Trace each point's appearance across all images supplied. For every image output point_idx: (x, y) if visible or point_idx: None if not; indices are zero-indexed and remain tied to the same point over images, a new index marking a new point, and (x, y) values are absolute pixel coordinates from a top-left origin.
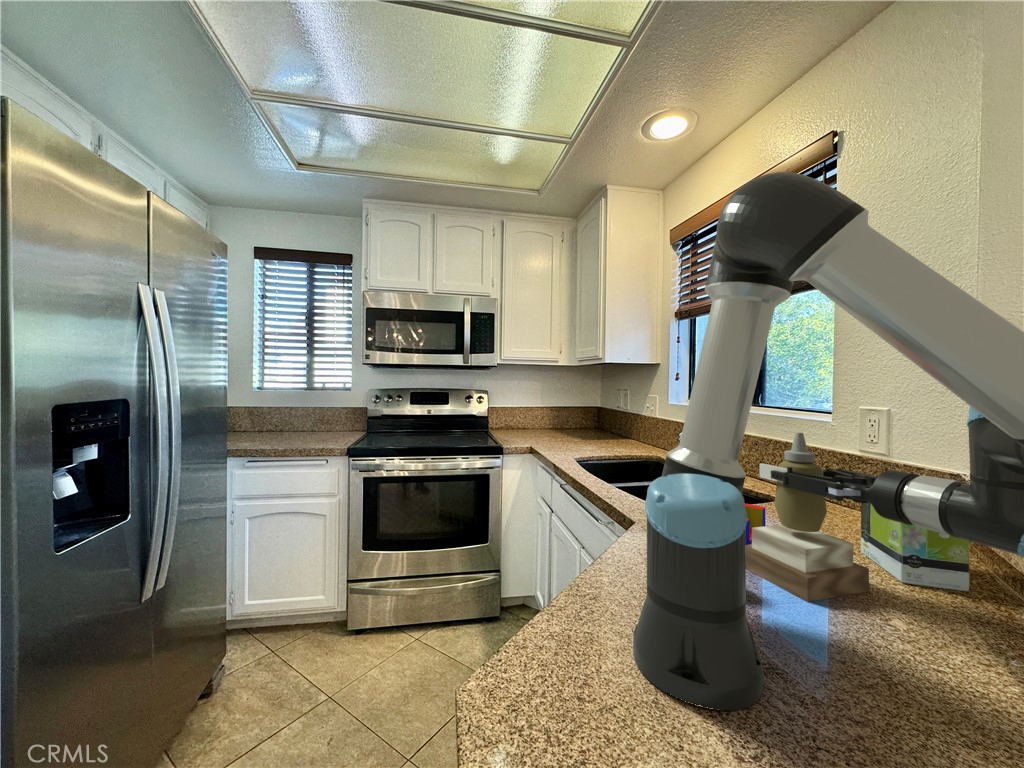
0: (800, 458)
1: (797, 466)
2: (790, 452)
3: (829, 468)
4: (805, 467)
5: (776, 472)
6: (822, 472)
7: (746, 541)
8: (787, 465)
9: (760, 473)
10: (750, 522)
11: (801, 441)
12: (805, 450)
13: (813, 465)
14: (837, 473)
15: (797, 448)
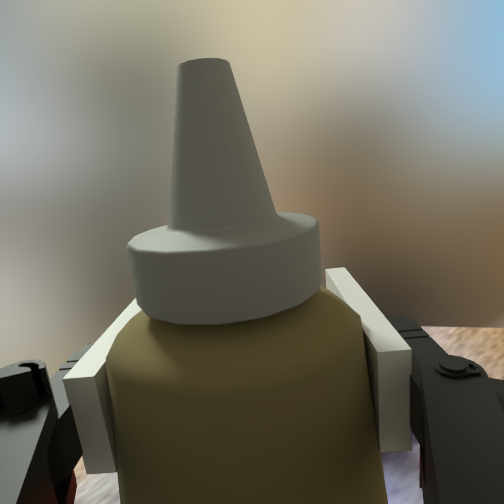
0: (144, 288)
1: (124, 352)
2: (138, 235)
3: (454, 363)
4: (144, 374)
5: (61, 369)
6: (403, 382)
7: None
8: (123, 327)
9: None
10: None
11: (187, 137)
12: (210, 214)
13: (239, 353)
14: (434, 494)
15: (171, 201)
